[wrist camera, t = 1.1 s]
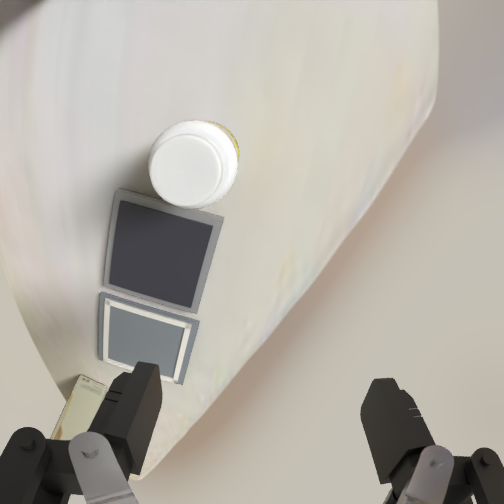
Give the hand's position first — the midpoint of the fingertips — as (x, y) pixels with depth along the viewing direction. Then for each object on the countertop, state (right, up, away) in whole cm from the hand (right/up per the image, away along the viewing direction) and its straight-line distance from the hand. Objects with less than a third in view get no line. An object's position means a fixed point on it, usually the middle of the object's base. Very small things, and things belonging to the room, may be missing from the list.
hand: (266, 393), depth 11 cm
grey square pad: (-13, -5, +22) cm, 26 cm away
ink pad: (-9, +5, +18) cm, 21 cm away
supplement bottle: (-4, +13, +15) cm, 21 cm away
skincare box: (-23, -15, +27) cm, 38 cm away
